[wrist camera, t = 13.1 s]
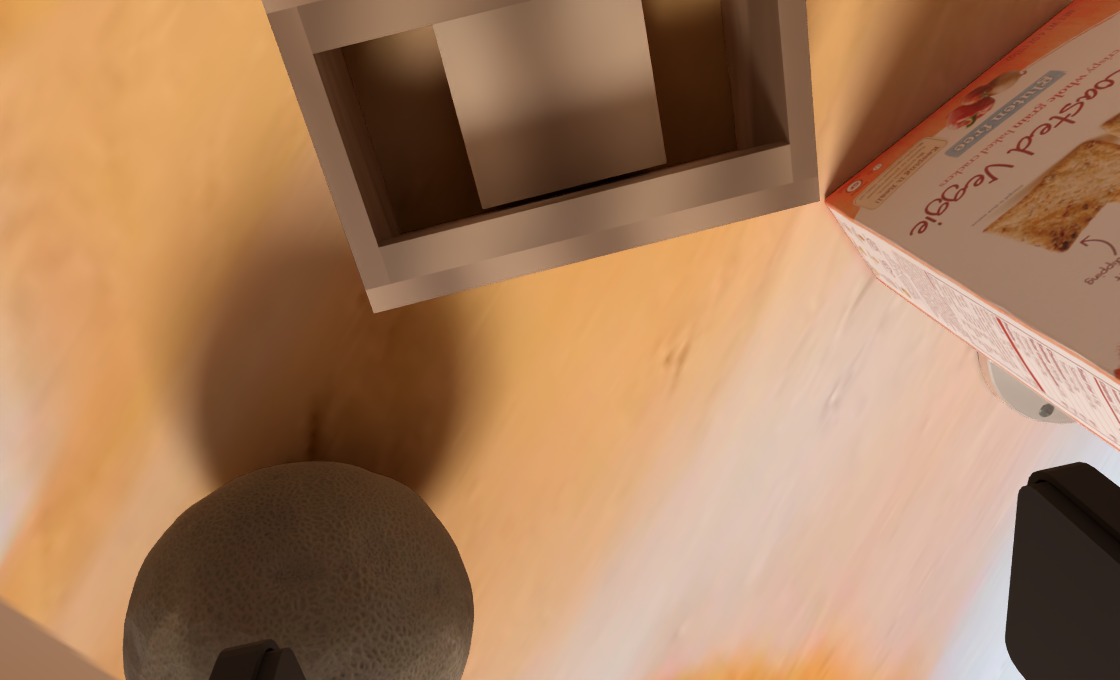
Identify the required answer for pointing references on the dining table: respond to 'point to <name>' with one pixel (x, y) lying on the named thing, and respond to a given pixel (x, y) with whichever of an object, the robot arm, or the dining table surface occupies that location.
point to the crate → (550, 133)
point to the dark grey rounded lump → (304, 580)
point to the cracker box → (1015, 215)
